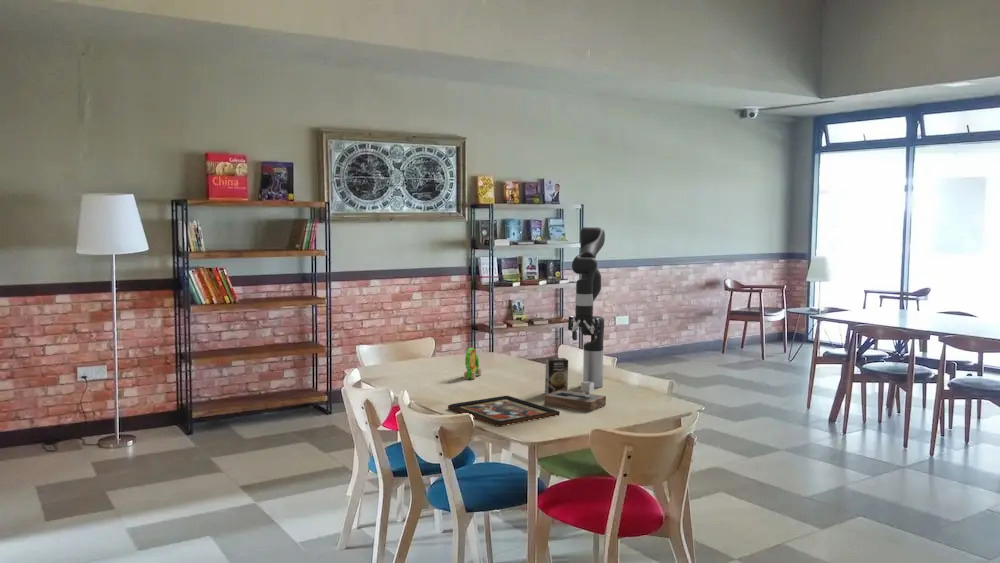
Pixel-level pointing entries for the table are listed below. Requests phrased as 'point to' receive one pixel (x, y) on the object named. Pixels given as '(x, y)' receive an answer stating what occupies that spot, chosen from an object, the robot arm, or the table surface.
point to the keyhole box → (574, 400)
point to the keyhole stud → (587, 388)
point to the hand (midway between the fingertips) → (583, 341)
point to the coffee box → (556, 375)
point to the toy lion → (472, 364)
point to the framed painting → (503, 410)
